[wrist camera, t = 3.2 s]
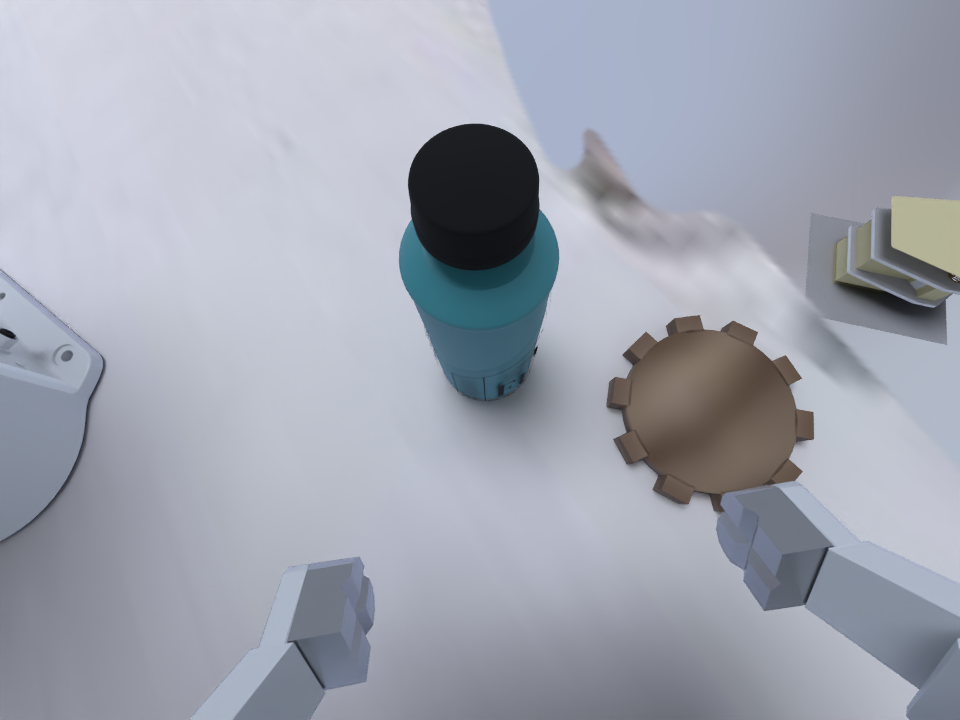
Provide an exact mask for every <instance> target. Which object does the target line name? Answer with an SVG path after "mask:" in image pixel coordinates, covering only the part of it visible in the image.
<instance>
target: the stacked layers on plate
mask: <svg viewBox="0 0 960 720" xmlns="http://www.w3.org/2000/svg"><path fill="white" fill-rule="evenodd" d="M952 274H953V275H954V276H953V275H952ZM955 276H958V277H960V201H956V200H942V199H927V198H914V197H900V196H899V197H898V196H893V197H892V209H885V208H884V209H883V208H876V209H874V210H873V211H872V219H871V220H870V221H869V222H867V223H866V224H865V223H860V222H855V221H850V220H845V219H839V218H834V217H829V216H824V215H819V214H814V213H811V216H810V232H809V247H808V263H807V277H806V292H805V298H806V299H807V300H808V301H809V302H810V304H811V305H812V306H813V307H814V308H815V309H816V310H817V311H818V312H819V313H820V315H821V316H822V317H823V318H825V319H829V320H834V321H839V322H844V323H848V324H852V325H857V326H862V327H866V328H871V329H875V330H880V331H884V332H889V333H894V334H899V335H903V336H908V337H912V338H916V339H921V340H926V341H931V342H935V343H940V344H944V345H947V322H946V299H947V298H948V297H949V296H950V295H952V294H953V293H954V294H959V295H960V281H958V280H957V279H955V278H954V279H955V280H956V281H957V282H956V281H954V280H953V279H952V278H953V277H955ZM956 278H957V277H956ZM959 280H960V279H959Z"/></svg>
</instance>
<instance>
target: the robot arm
mask: <svg viewBox="0 0 960 720" xmlns="http://www.w3.org/2000/svg"><path fill="white" fill-rule="evenodd" d="M72 356H73V357H72ZM71 357H72V358H71ZM102 368H103V360H102V357H101V356H100V355H99V353H97V352H96V351H95V350H94V349H93V348H92V347H90V346H89V345H88V344H87V343H86V342H84V341H83V340H82V339H81V338H80V337H79V336H77V335H76V334H75V333H74V332H73V331H72V330H70V329H69V328H68V327H67V326H66V325H65V324H63V323H62V322H61V321H60V320H59V319H57V318H56V317H55V316H54V315H53V314H52V313H50V312H49V311H48V310H47V309H46V308H45V307H43V306H42V305H41V304H40V303H39V302H38V301H36V300H35V299H34V298H33V297H32V296H30V295H29V294H28V293H27V292H26V291H25V290H23V289H22V288H21V287H20V286H19V285H18V284H16V283H15V282H14V281H13V280H12V279H10V278H9V277H8V276H7V275H6V274H5V273H3V272H2V271H1V270H0V541H1V540H3V539H5V538H7V537H9V536H10V535H12V534H14V533H15V532H17V531H18V530H19V529H21V528H22V527H24V526H25V525H26V524H28V523H29V522H30V521H31V520H32V519H34V518H35V517H36V516H37V515H38V514H39V513H40V512H41V511H42V510H43V509H44V508H45V507H46V506H47V505H48V504H49V502H50V501H51V500H52V499H53V498H54V496H55V495H56V494H57V492H58V491H59V490H60V488H61V487H62V485H63V484H64V482H65V481H66V479H67V477H68V476H69V474H70V472H71V470H72V468H73V466H74V464H75V461H76V459H77V456H78V453H79V451H80V447H81V444H82V440H83V435H84V429H85V418H86V409H87V404H88V400H89V397H90V396H91V394H92V392H93V390H94V388H95V386H96V384H97V382H98V379H99V377H100V375H101V372H102ZM720 505H721V506H722V508H723V509H724V510H725V512H724V513H723V514H722V515H721V516H720V517H719V518H718V519H717V526H716V531H717V535H718V540H719V543H720V545H721V547H722V549H723V551H724V553H725V554H726V556H727V558H728V559H729V561H730V562H731V563H733V564H735V565H736V566H738V567H739V568H741V569H743V570H744V579H743V581H744V583H745V584H746V586H747V587H748V588H749V590H750V591H751V593H752V594H753V596H754V597H755V599H756V600H757V601H758V603H759V604H760V606H761V607H762V609H763V610H764V611H767V610H774V609H781V608H788V607H795V606H801V605H806V606H805V608H806V609H808V610H809V611H811V612H812V613H813V614H815V615H816V616H818V617H819V618H820V619H822V620H823V621H825V622H826V623H827V624H829V625H830V626H832V627H833V628H834V629H836V630H837V631H839V632H840V633H841V634H843V635H844V636H846V637H847V638H848V639H850V640H851V641H853V642H854V643H855V644H857V645H858V646H859V647H861V648H862V649H864V650H865V651H866V652H868V653H869V654H871V655H872V656H873V657H875V658H876V659H878V660H879V661H880V662H882V663H883V664H885V665H886V666H887V667H889V668H890V669H892V670H893V671H894V672H896V673H897V674H899V675H900V676H901V677H903V678H904V679H906V680H907V681H908V682H910V683H911V684H913V685H914V686H915V687H917V688H918V689H920V690H919V691H918V692H917V694H916V695H915V697H914V698H913V699H912V701H911V702H910V703H909V705H908V706H907V713H906V716H907V717H908V718H909V720H960V584H959V583H957V582H955V581H953V580H950V579H948V578H946V577H944V576H942V575H940V574H938V573H935V572H933V571H931V570H929V569H927V568H925V567H923V566H921V565H918V564H916V563H914V562H912V561H910V560H908V559H906V558H903V557H901V556H899V555H897V554H895V553H893V552H891V551H889V550H886V549H884V548H882V547H880V546H878V545H876V544H874V543H872V542H869V541H867V542H861V541H860V540H859V539H858V538H857V537H856V536H855V535H854V534H852V533H851V532H850V531H849V530H848V529H847V528H846V527H845V526H844V525H843V524H842V523H841V522H840V521H839V520H838V519H837V518H836V517H835V516H834V515H833V514H832V513H831V512H830V511H829V510H828V509H827V508H825V507H824V506H823V505H822V504H821V503H820V502H819V501H818V500H817V499H816V498H815V497H814V496H813V495H812V494H811V493H810V492H809V491H808V490H807V489H806V488H805V487H804V486H803V485H801V484H800V483H798V482H796V481H790V482H784V483H779V484H773V485H764V486H759V487H753V488H748V489H743V490H737V491H732V492H727V493H725V494H724V495H723V496H722V500H721V504H720ZM363 570H364V565H363V563H362V561H361V558H360V557H354V558H347V559H340V560H333V561H326V562H319V563H312V564H306V565H299V566H293V567H288V569H287V570H286V571H285V573H284V574H283V576H282V579H281V582H280V585H279V588H278V591H277V594H276V597H275V600H274V603H273V605H272V608H271V611H270V614H269V617H268V620H267V623H266V626H265V629H264V632H263V635H262V638H261V641H260V644H259V647H258V648H255V649H251V650H250V651H249V652H248V653H247V654H246V656H245V657H244V658H243V659H242V660H241V661H240V662H239V663H238V665H237V666H236V667H235V668H234V669H233V670H232V671H231V673H230V674H229V675H228V676H227V677H226V678H225V679H224V681H223V682H222V683H221V684H220V685H219V686H218V687H217V689H216V690H215V691H214V692H213V693H212V694H211V695H210V697H209V698H208V699H207V700H206V701H205V702H204V703H203V705H202V706H201V707H200V708H199V709H198V710H197V711H196V713H195V714H194V715H193V716H192V717H191V718H190V719H189V720H310V718H311V716H312V715H313V713H314V711H315V710H316V708H317V706H318V705H319V703H320V701H321V699H322V698H323V696H324V694H325V691H324V690H329V689H333V688H338V687H343V686H348V685H353V684H357V683H362V682H366V679H367V671H368V663H369V655H370V647H371V646H370V644H369V642H368V640H367V638H366V634H367V633H368V631H369V630H370V628H371V627H372V626H373V622H374V612H375V605H374V592H373V587H372V584H371V582H370V579H369V578H367V577H365V576H363Z"/></svg>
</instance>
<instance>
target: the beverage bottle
mask: <svg viewBox="0 0 960 720" xmlns="http://www.w3.org/2000/svg"><path fill="white" fill-rule="evenodd" d="M408 189H409V196H410V202H411V216H412V220H411V221H410V223H409V224H408V226H407V228H406V230H405V233H404V235H403V238H402V241H401V245H400V251H399V266H400V272H401V276H402V280H403V282H404V285H405V287H406V290H407V291H408V293H409V295H410V296H411V298H412V299H413V301H414V303H415V305H416V307H417V310H418V312H419V314H420V316H421V319H422V321H423V323H424V327H425V328H426V331H427V332H428V335H427V336H429V337H430V340H431V342H430V341H429V342H430V343H432V346H433V348H434V350H435V352H436V353H435V354H436V355H437V357H438V359H439V362H440V364H441V366H442V369H443V371H444V374H445V375H446V377H447V379H448V380H449V382H450V383H451V384H452V385H453V386H454V387H455V388H456V389H457V391H458V390H459V391H460V392H462V393H464V394H466V395H467V396H468V397H469V396H470V397H473V398H475V399H474V400H476V398H479V399H485V401H486V399H493V398H499V397H501V396H502V397H503V396H505V395H506V394H507V395H508V393H510V392H511V391H513V390H514V389H515V388H516V387H518V386H519V385H520V384H521V383H522V382H524V380H523V379H524V378H525V376H526V374H527V371H528V368H529V365H530V362H531V359H532V355H535V354H536V351H537V347H538V346H537V347H536V349H534V348H535V345H536V342H537V338H538V335H539V332H540V328H541V325H542V321H543V318H544V314H545V310H546V306H547V300H548V297H549V293H550V291H551V289H552V287H553V284H554V282H555V279H556V275H557V271H558V265H559V248H558V243H557V239H556V236H555V233H554V230H553V228H552V226H551V224H550V222H549V221H548V219H547V218H546V216H545V215H544V214H543V213H542V211H541V210H540V209H539V197H538V195H539V173H538V169H537V165H536V162H535V159H534V157H533V155H532V154H531V152H530V151H529V149H528V148H527V147H526V145H525V144H524V143H523V142H522V141H521V140H519V139H518V138H517V137H516V136H514V135H513V134H511V133H509V132H507V131H505V130H503V129H501V128H498V127H495V126H491V125H486V124H464V125H459V126H455V127H452V128H449V129H447V130H444V131H442V132H440V133H439V134H437V135H435V136H434V137H433V138H431V139H430V140H429V141H428V142H427V143H425V144H424V145H423V147H422V148H421V149H420V150H419V151H418V153H417V154H416V156H415V158H414V160H413V162H412V165H411V168H410V172H409V178H408ZM550 301H551V300H550ZM548 313H549V312H548ZM543 328H544V327H543ZM542 331H543V329H542ZM427 332H426V333H427ZM429 337H428V338H429ZM539 337H540V336H539ZM434 350H433V351H434ZM533 353H534V354H533ZM435 354H434V355H435ZM436 355H435V357H436ZM437 357H436V358H437ZM534 357H535V356H534ZM531 367H532V366H531ZM529 371H530V370H529ZM526 377H527V376H526ZM516 389H517V388H516ZM514 392H515V390H514ZM511 394H512V393H511ZM463 396H464V395H463ZM503 398H504V397H503ZM500 399H501V398H500ZM496 400H497V399H496ZM481 401H484V400H481ZM487 401H491V400H487Z"/></svg>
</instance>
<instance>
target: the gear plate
mask: <svg viewBox="0 0 960 720" xmlns="http://www.w3.org/2000/svg"><path fill="white" fill-rule="evenodd" d="M666 327H667V331H668V335H669V337H666V338H664V339H663V340H661V341H659V342H657V341H656V340H655V339H654V338H652V337H651V336H650V335H649V334H648V333H647V332H645V333H644V334H643V335H642V336H641V337H640V338H639V339H638V340H637V341H636V342H635V343H634V344H633V345H632V346H631V347H630V348H629V349H628V350H627V351H626V352H625V353H624V354H623V356H624V357H625V358H626V359H628V360H629V361H630V362H631V363H632V364H633V365H634V366H633V367H632V369H631V370H630V372H629V374H628V377H627V379H623V378H618V377H615V378H613V379H612V380H611V381H610V382H609V389H608V398H607V407H612V408H617V409H622V414H623V421H624V424H625V428H626V431H627V433H625V434H623V435H621V436H619V437H617V438H615V439H613V440H614V441H615V443H616V445H617V447H618V449H619V451H620V452H621V454H622V456H623V458H624V460H625V461H626V463H627V464H628V463H634V462H636V461H638V460H640V459H643V460H644V461H645V462H646V464H647V465H648V466H649V467H650V468H651V469H653V470H654V471H655V472H656V473H657V474H659V476H658V479H657V481H656V483H655V486H654V488H653V490H655V491H656V492H658V493H660V494H662V495H664V496H666V497H668V498H669V499H671V500H673V501H675V502H677V503H680V504H689V502H690V499H691V497H692V494H693V492H694V491H696V492H702V493H710V497H711V501H712V505H713V508H714V510H715V511H723V512H725V510H724V509H723V508H722V506H721V505H720V504H721V500H722V496H723V495H724V494H725V493H727V492H732V491H737V490H743V489H748V488H753V487H758V486H760V485H762V484H763V485H773V484H779V483H784V482H790V481H795V480H796V479H797V478H798V476H799V475H800V474H801V473H802V472H803V471H802V470H800V469H799V468H798V467H797V466H796V465H795V464H794V463H793V462H791V461H790V460H789V457H790V455H791V453H792V451H793V448H794V445H795V442H796V441H805V440H813V439H814V416H813V412H809V411H804V410H798V409H796V405H795V401H794V397H793V395H792V392H791V389H790V387H789V385H790V384H792V383H794V382H796V381H798V380H800V379H802V378H801V376H800V375H799V374H798V372H797V371H796V369H795V368H794V366H793V365H792V364H791V362H790V361H789V359H788V358H787V356H786V355H785V356H783V357H781V358H778V359H776V360H774V361H771V360H770V359H769V358H768V357H767V356H766V355H765V354H764V353H763V352H761V351H760V350H759V349H757V348H756V347H755V346H753V344H754V341H755V339H756V336H757V334H758V332H756V331H754V330H752V329H750V328H748V327H745V326H743V325H741V324H739V323H737V322H735V321H732V322H731V323H729V324H728V325H726V326H725V327H723V328H722V329H721V332H719V331H714V330H704V329H703V325H702V322H701V318H700V315H698V316H690V317H682V318H674V319H673V320H672V321H671V322H670V323H669V324H668V325H667V326H666Z"/></svg>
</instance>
